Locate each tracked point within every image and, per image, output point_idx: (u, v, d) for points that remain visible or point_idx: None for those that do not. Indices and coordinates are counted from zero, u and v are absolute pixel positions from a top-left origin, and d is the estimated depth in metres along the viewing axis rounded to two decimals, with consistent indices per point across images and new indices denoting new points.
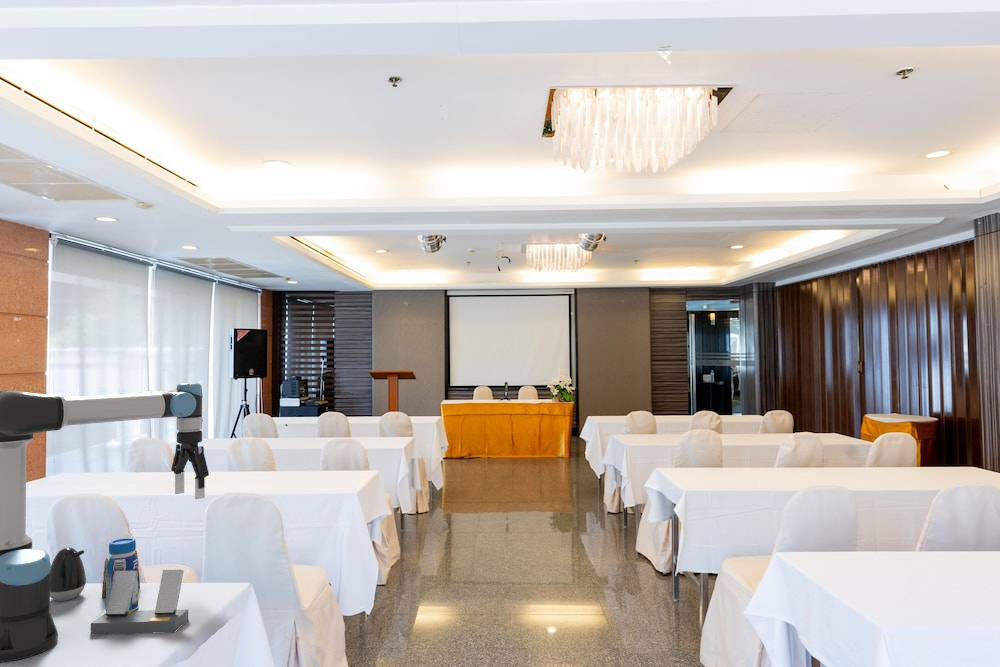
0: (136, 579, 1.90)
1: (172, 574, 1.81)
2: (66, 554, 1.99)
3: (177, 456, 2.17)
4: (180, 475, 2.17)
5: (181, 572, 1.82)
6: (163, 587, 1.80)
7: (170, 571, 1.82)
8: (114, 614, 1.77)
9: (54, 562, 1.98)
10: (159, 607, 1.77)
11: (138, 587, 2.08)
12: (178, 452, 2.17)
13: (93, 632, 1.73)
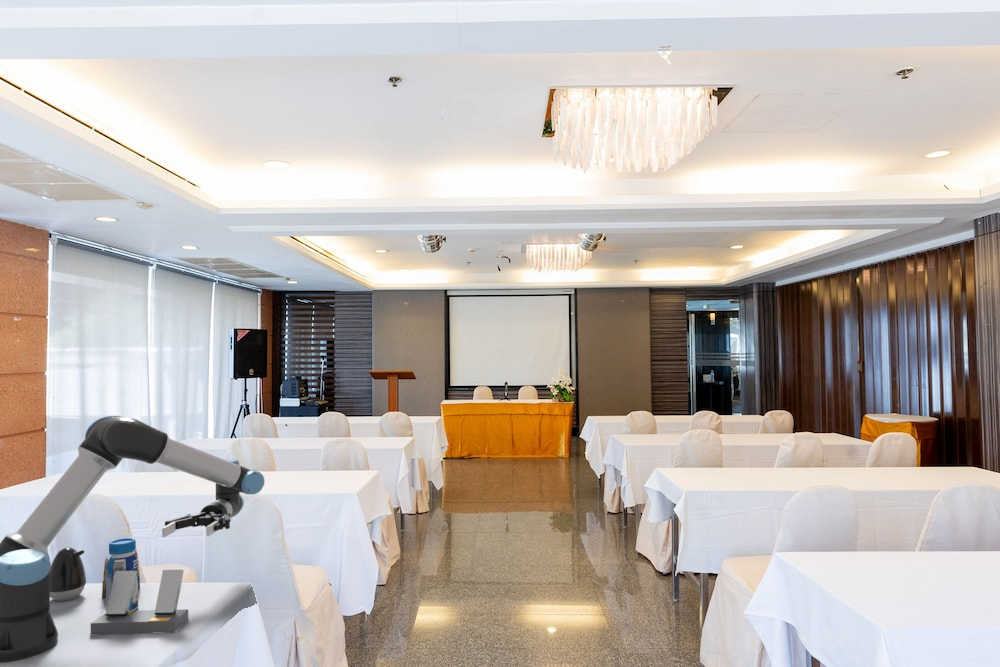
0: (136, 579, 1.90)
1: (172, 574, 1.81)
2: (66, 554, 1.99)
3: (183, 518, 2.03)
4: (174, 527, 1.96)
5: (181, 572, 1.82)
6: (163, 587, 1.80)
7: (170, 571, 1.82)
8: (114, 614, 1.77)
9: (54, 562, 1.98)
10: (159, 607, 1.77)
11: (138, 587, 2.08)
12: (187, 517, 2.04)
13: (93, 632, 1.73)
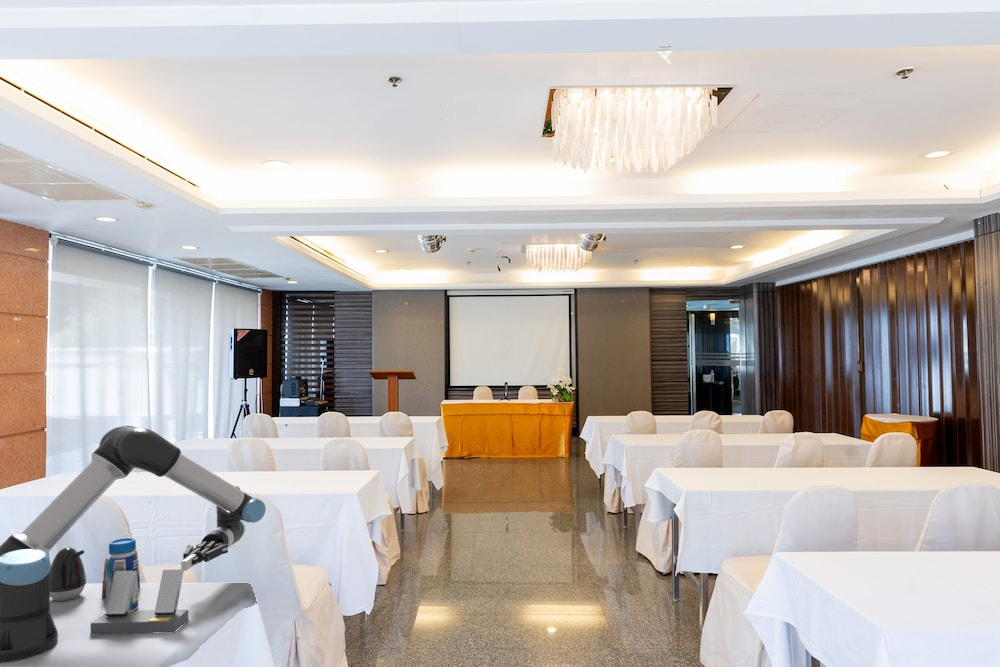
0: (136, 579, 1.90)
1: (172, 574, 1.81)
2: (66, 554, 1.99)
3: (191, 549, 2.02)
4: None
5: (181, 572, 1.82)
6: (163, 587, 1.80)
7: (170, 571, 1.82)
8: (114, 614, 1.77)
9: (54, 562, 1.98)
10: (159, 607, 1.77)
11: (138, 587, 2.08)
12: (192, 548, 2.03)
13: (93, 632, 1.73)
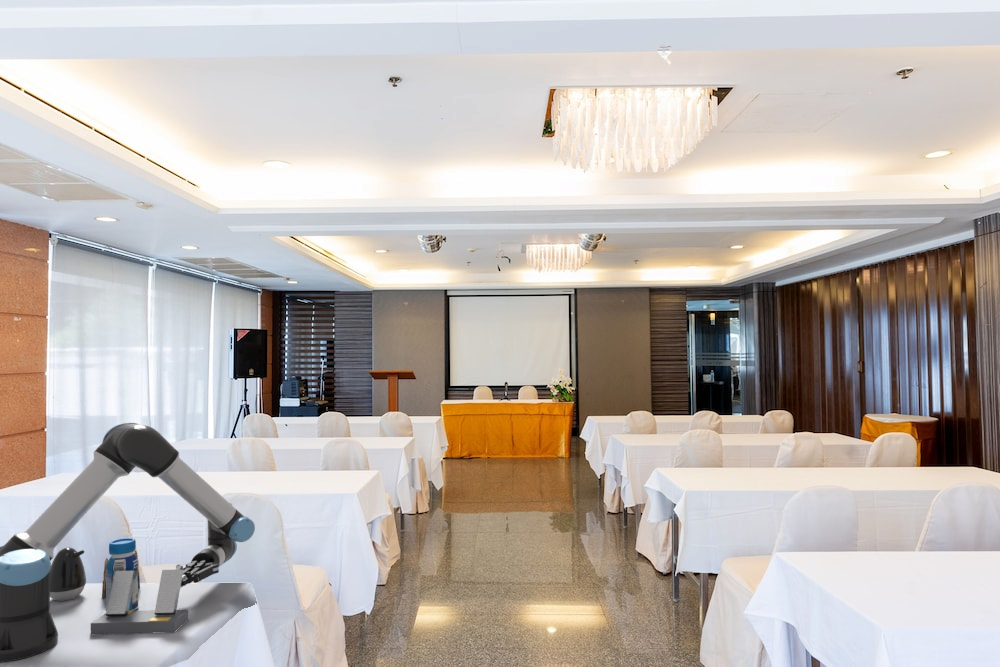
0: (136, 579, 1.90)
1: (171, 574, 1.81)
2: (66, 554, 1.99)
3: None
4: None
5: (180, 572, 1.82)
6: (163, 587, 1.80)
7: (169, 571, 1.81)
8: (114, 614, 1.77)
9: (54, 562, 1.98)
10: (159, 607, 1.77)
11: (138, 587, 2.08)
12: (181, 567, 1.97)
13: (93, 632, 1.73)
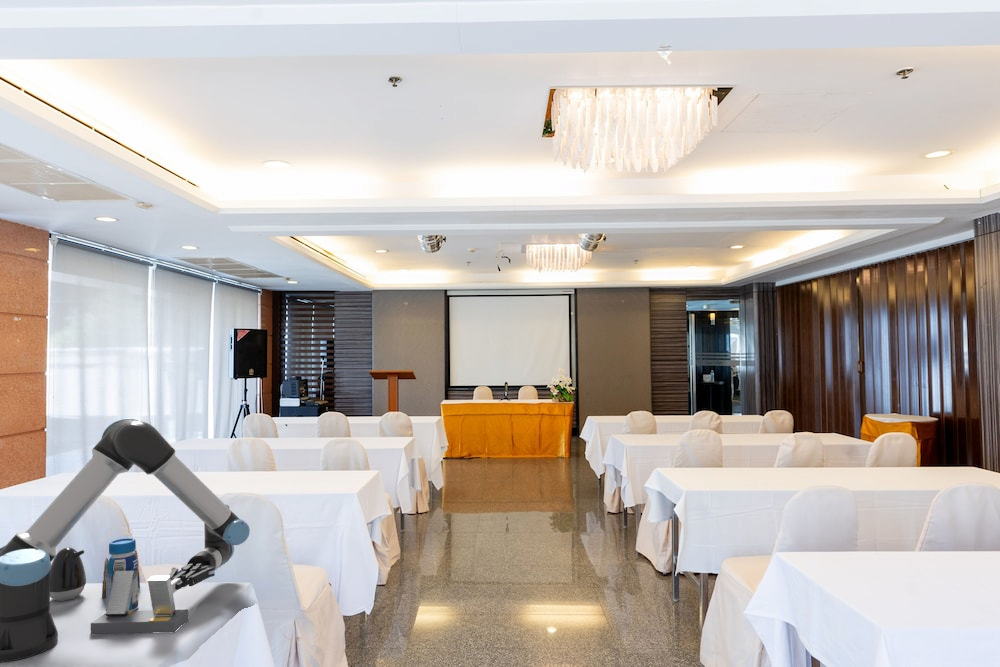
0: (136, 579, 1.90)
1: (159, 584, 1.74)
2: (66, 554, 1.99)
3: (175, 572, 1.92)
4: None
5: (168, 581, 1.74)
6: (154, 595, 1.75)
7: (156, 581, 1.74)
8: (114, 614, 1.77)
9: (54, 562, 1.98)
10: (157, 611, 1.76)
11: (138, 587, 2.08)
12: (176, 570, 1.93)
13: (93, 632, 1.73)
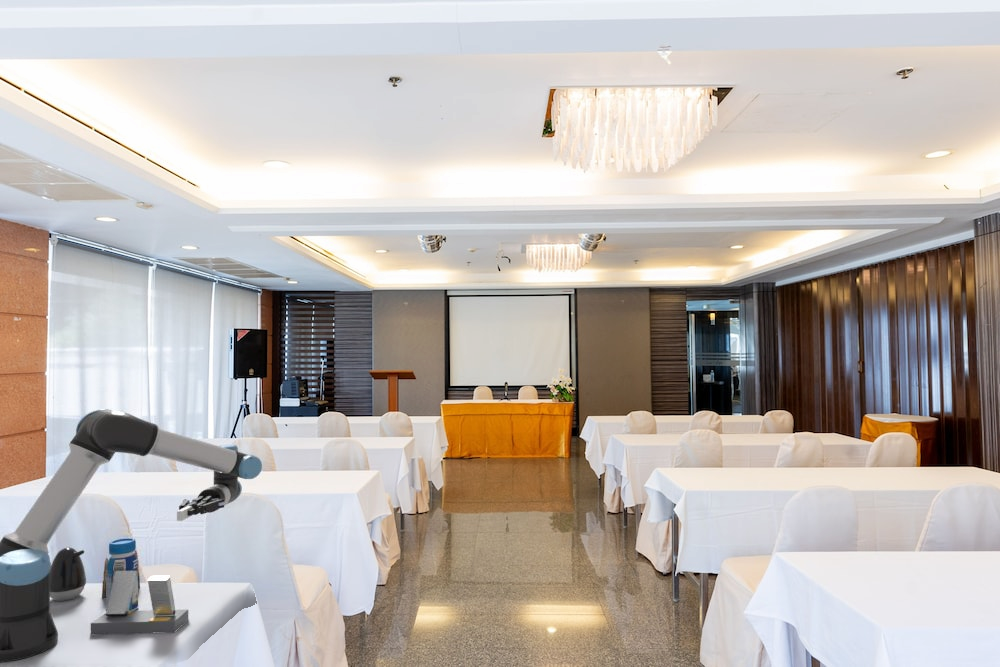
0: (136, 579, 1.90)
1: (159, 584, 1.74)
2: (66, 554, 1.99)
3: (187, 503, 2.00)
4: None
5: (168, 581, 1.74)
6: (154, 595, 1.75)
7: (156, 581, 1.74)
8: (114, 614, 1.77)
9: (54, 562, 1.98)
10: (157, 611, 1.76)
11: (138, 587, 2.08)
12: (188, 501, 2.01)
13: (93, 632, 1.73)
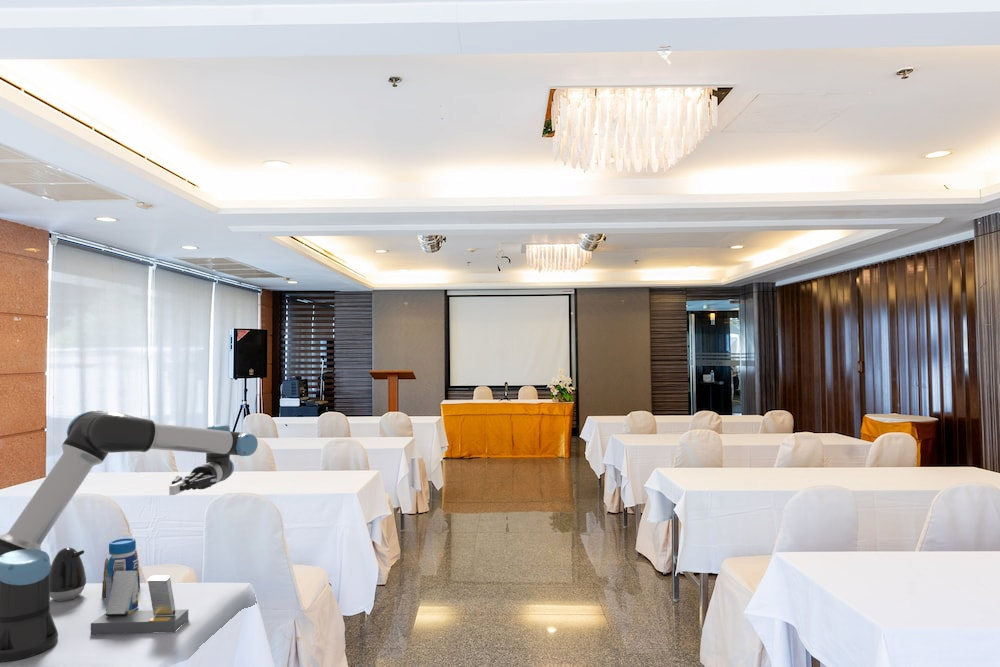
0: (136, 579, 1.90)
1: (159, 584, 1.74)
2: (66, 554, 1.99)
3: (179, 479, 2.05)
4: None
5: (168, 581, 1.74)
6: (154, 595, 1.75)
7: (156, 581, 1.74)
8: (114, 614, 1.77)
9: (54, 562, 1.98)
10: (157, 611, 1.76)
11: (138, 587, 2.08)
12: (180, 478, 2.07)
13: (93, 632, 1.73)
